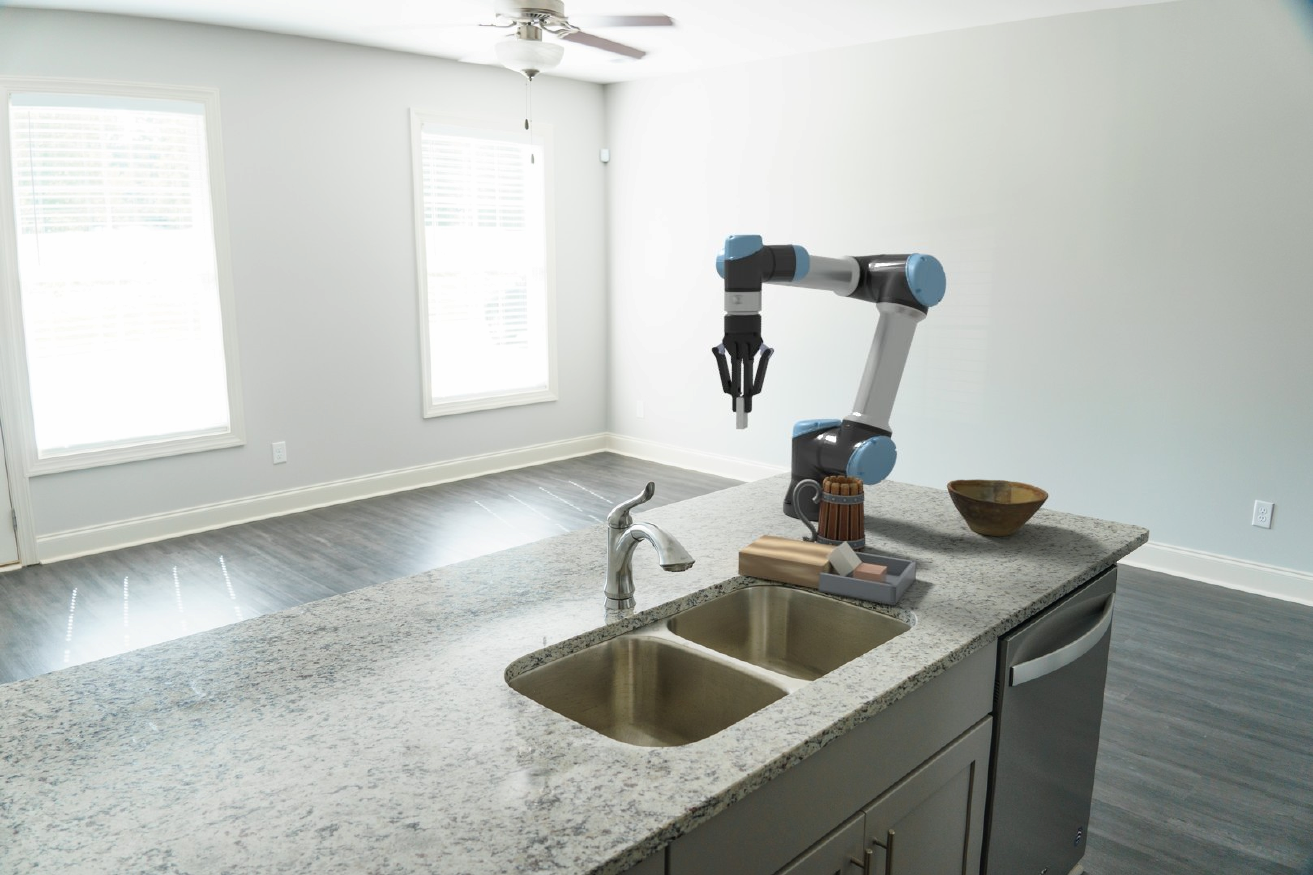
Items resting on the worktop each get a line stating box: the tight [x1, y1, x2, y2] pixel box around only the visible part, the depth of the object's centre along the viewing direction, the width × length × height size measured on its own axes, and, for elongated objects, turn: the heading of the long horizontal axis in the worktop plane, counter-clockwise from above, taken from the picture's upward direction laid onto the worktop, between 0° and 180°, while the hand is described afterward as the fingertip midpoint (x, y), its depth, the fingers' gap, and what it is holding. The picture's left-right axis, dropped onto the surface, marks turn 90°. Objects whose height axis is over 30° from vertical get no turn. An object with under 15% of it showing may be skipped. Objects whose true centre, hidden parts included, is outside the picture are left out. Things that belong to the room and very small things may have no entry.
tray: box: [818, 551, 918, 606], centre depth 168 cm, size 16×14×4 cm
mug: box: [793, 476, 866, 553], centre depth 189 cm, size 16×11×15 cm
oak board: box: [737, 534, 838, 590], centre depth 175 cm, size 13×17×4 cm
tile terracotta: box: [853, 563, 887, 584], centre depth 167 cm, size 5×5×3 cm
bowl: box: [946, 479, 1049, 537], centre depth 202 cm, size 22×23×10 cm
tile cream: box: [826, 541, 861, 576], centre depth 169 cm, size 5×5×3 cm
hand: (741, 427), depth 183 cm, fingers closed
